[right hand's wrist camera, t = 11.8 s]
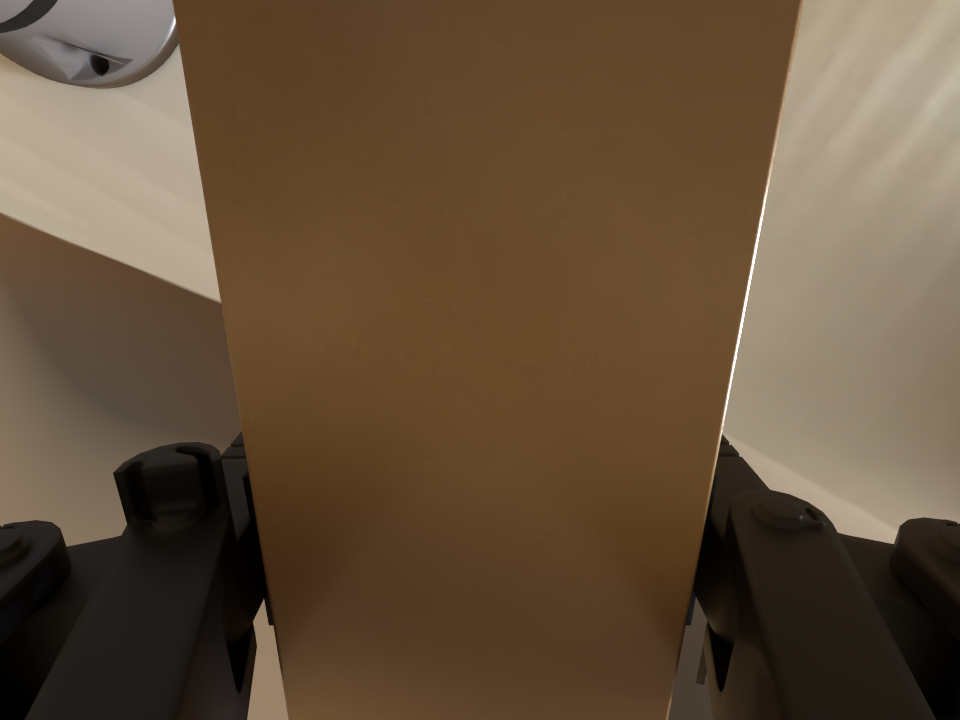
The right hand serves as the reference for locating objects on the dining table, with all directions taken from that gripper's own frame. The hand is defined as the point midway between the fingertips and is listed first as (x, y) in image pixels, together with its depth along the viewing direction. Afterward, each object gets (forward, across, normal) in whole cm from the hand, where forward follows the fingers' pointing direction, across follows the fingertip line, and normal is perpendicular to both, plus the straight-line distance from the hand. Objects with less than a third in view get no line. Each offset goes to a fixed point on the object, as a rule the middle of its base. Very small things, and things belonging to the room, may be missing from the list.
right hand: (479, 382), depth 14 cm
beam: (+1, 0, -23) cm, 23 cm away
